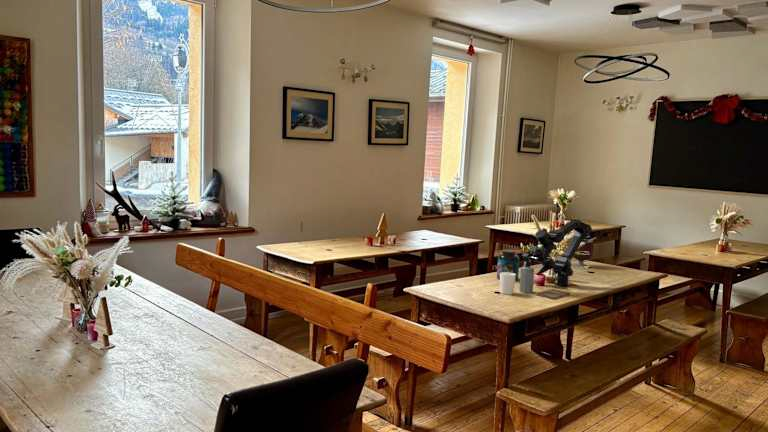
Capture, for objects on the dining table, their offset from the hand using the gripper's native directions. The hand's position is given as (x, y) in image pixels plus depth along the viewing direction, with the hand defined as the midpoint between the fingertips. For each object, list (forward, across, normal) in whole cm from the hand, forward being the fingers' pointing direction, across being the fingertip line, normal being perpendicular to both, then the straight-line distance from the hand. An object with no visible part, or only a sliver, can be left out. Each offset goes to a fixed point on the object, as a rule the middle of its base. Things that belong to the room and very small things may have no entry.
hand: (530, 272), depth 290 cm
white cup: (+17, -3, -3) cm, 17 cm away
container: (-2, -26, +16) cm, 30 cm away
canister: (+8, 0, +5) cm, 10 cm away
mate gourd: (-55, -29, +68) cm, 92 cm away
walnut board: (+3, +11, +10) cm, 16 cm away
